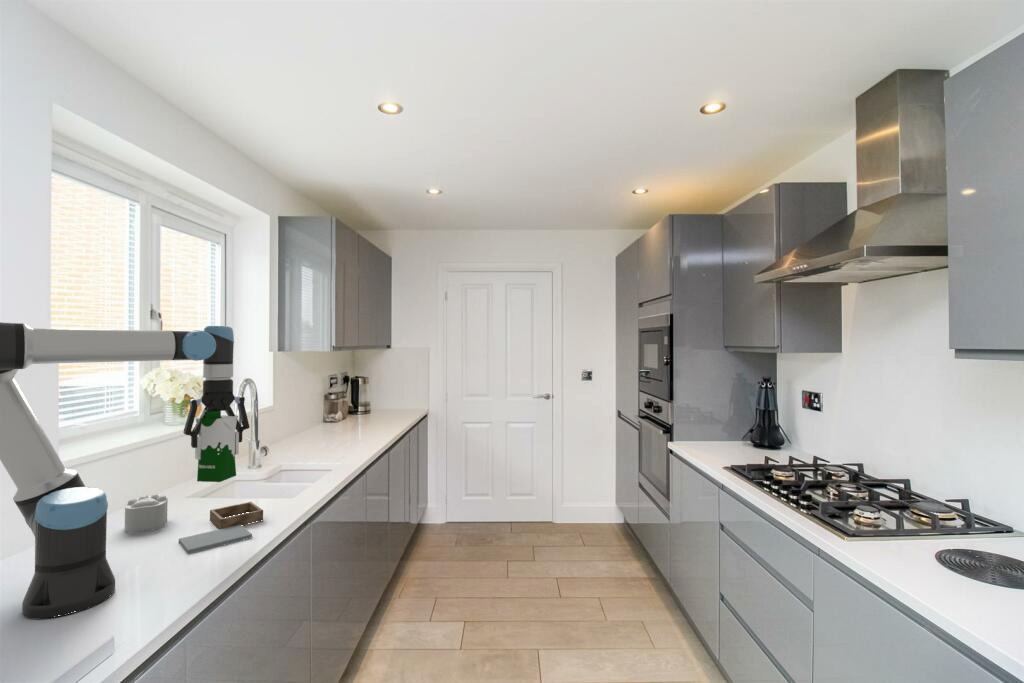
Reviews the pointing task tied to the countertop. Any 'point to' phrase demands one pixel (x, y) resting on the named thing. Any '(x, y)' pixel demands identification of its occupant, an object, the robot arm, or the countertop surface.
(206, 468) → the soya milk
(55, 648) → the countertop surface
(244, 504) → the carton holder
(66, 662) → the countertop surface
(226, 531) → the mat
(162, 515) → the lumpy-topped squat cylinder
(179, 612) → the countertop surface
